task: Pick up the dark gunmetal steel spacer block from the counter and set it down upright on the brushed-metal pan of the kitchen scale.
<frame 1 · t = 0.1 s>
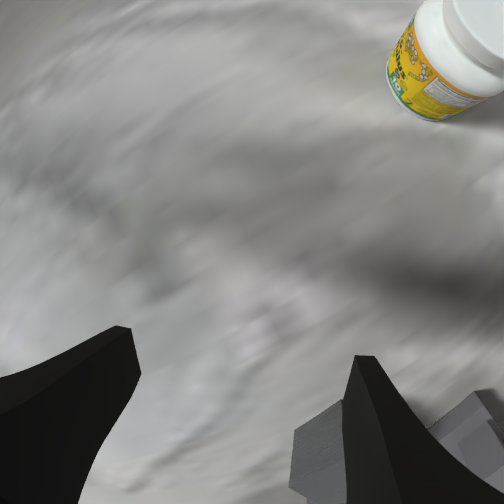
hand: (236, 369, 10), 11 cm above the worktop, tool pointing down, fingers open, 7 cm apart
steel spacer: (335, 430, 21), on the worktop
supplement bottle: (422, 82, 16), on the worktop
scale: (426, 484, 21), on the worktop
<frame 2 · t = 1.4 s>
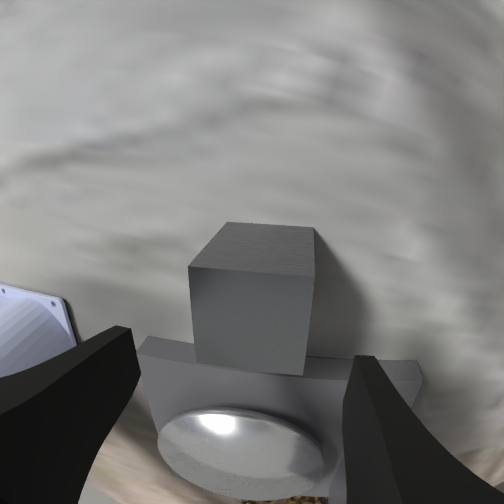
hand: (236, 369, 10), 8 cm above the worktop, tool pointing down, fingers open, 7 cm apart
steel spacer: (268, 264, 18), on the worktop
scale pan: (239, 463, 19), point 4 cm above the worktop, slide at 0.0 cm, touching scale
scale: (273, 430, 22), on the worktop
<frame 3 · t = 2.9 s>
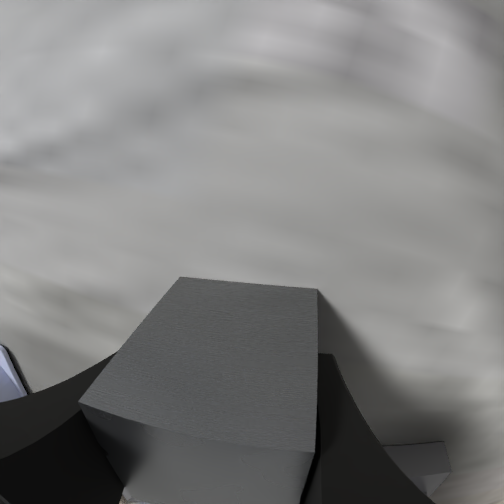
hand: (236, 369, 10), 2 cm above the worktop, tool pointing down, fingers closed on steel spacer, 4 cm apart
steel spacer: (245, 340, 11), on the worktop, touching gripper
scale: (260, 503, 16), on the worktop
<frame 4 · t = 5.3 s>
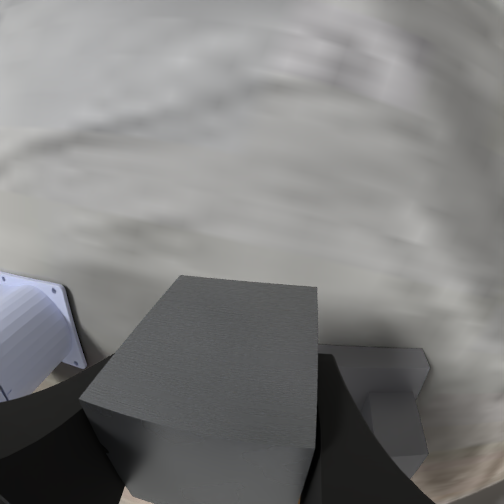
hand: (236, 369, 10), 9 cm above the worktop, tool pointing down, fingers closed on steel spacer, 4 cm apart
steel spacer: (246, 338, 11), point 7 cm above the worktop, touching gripper
scale: (276, 421, 22), on the worktop
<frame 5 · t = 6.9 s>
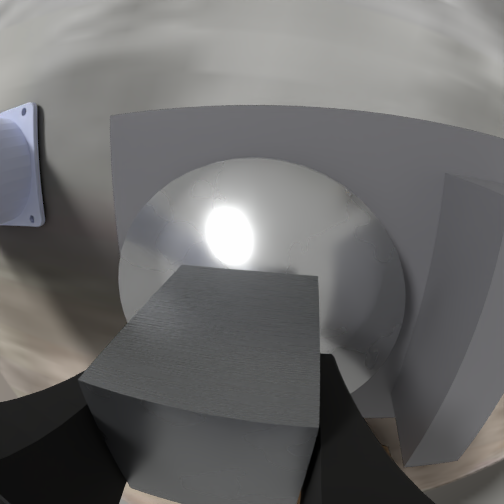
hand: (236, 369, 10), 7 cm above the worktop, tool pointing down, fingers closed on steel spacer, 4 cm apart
steel spacer: (247, 328, 11), point 5 cm above the worktop, touching gripper
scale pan: (254, 311, 13), point 4 cm above the worktop, slide at 0.0 cm, touching scale
scale: (306, 277, 16), on the worktop
when the fingers open (7 cm above the worktop, at t = 7.8 s): steel spacer drops 1 cm, resting on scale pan.
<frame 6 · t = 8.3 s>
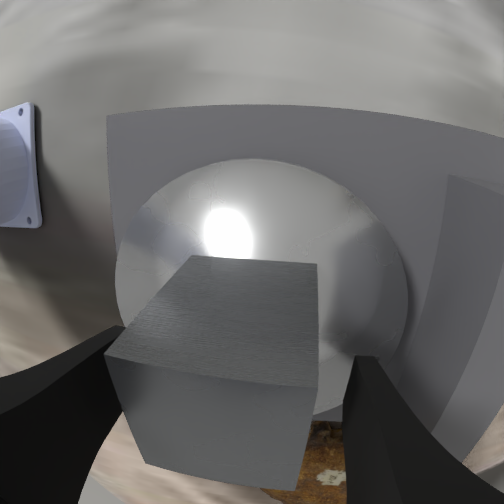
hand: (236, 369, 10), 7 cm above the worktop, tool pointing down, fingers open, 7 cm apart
steel spacer: (252, 314, 12), point 4 cm above the worktop, touching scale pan
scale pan: (253, 315, 13), point 4 cm above the worktop, slide at 0.0 cm, touching scale, steel spacer
decorative rock: (333, 467, 22), on the worktop
scale: (306, 280, 16), on the worktop
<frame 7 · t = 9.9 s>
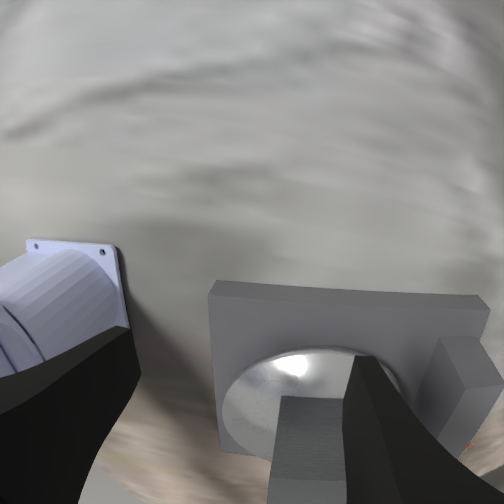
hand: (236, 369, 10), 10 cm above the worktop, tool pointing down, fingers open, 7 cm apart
steel spacer: (313, 420, 19), point 4 cm above the worktop, touching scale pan
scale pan: (312, 418, 19), point 4 cm above the worktop, slide at 0.0 cm, touching scale, steel spacer
scale: (339, 384, 22), on the worktop
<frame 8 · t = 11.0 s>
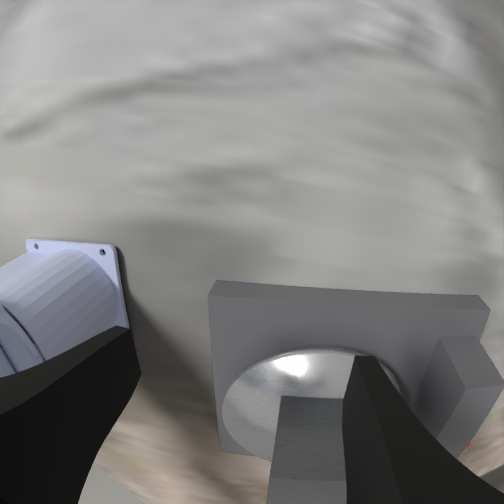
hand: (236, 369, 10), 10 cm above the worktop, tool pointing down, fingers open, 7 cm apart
steel spacer: (313, 420, 19), point 4 cm above the worktop, touching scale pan
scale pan: (312, 418, 19), point 4 cm above the worktop, slide at 0.0 cm, touching scale, steel spacer
scale: (339, 384, 22), on the worktop
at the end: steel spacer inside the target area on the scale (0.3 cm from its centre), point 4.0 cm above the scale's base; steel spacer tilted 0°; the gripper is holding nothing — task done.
